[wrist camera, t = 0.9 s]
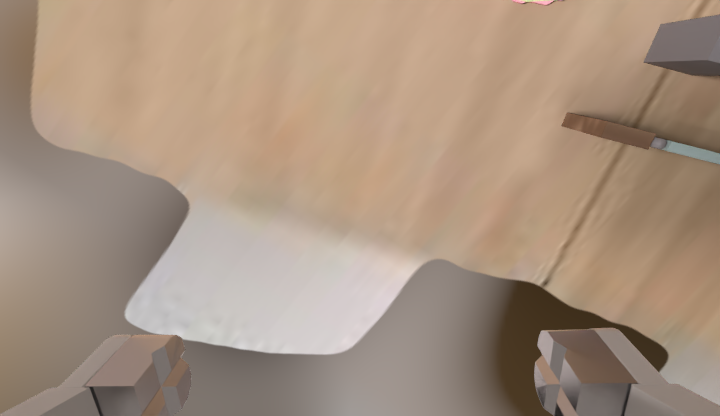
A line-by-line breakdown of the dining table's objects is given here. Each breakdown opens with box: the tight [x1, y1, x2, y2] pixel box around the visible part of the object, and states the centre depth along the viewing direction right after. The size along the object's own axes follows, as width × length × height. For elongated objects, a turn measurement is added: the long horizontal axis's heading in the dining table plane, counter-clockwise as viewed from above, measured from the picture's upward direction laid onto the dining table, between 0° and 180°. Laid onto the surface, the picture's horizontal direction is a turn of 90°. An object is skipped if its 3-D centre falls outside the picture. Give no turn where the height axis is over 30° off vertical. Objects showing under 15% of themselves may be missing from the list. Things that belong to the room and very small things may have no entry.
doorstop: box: [644, 15, 720, 76], centre depth 39 cm, size 4×6×9 cm, turn 77°
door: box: [650, 137, 720, 164], centre depth 43 cm, size 1×17×8 cm, turn 77°
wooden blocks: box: [562, 113, 656, 149], centre depth 43 cm, size 2×29×9 cm, turn 76°
